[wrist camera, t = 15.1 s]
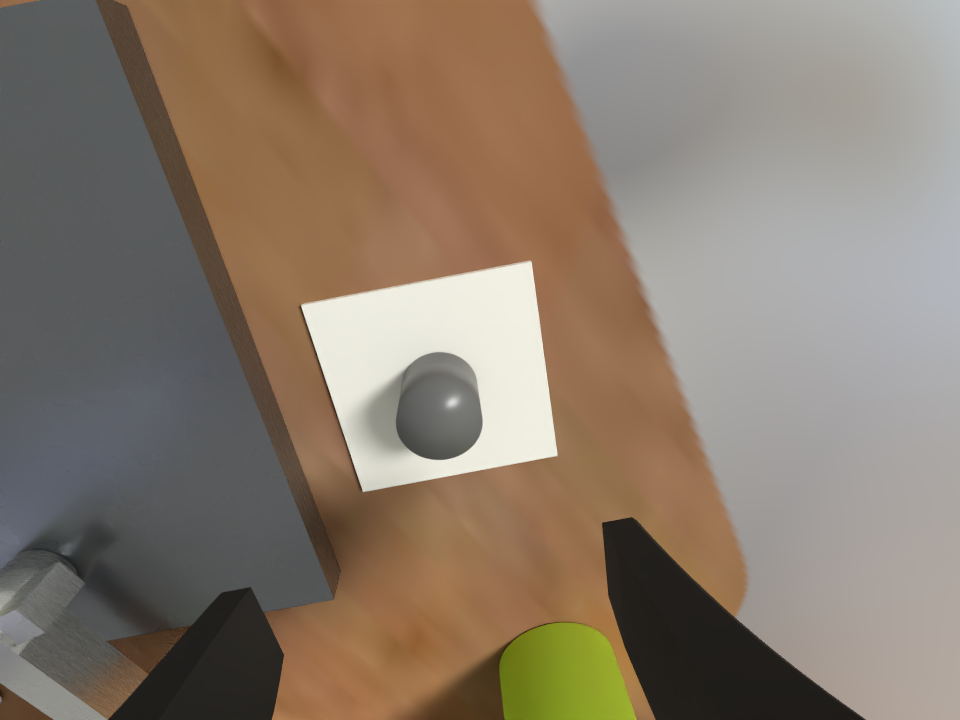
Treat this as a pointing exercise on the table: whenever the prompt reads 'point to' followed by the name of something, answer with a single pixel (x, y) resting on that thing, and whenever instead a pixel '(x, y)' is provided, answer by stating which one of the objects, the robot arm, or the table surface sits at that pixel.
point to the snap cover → (437, 375)
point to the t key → (57, 644)
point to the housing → (130, 350)
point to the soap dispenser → (563, 676)
